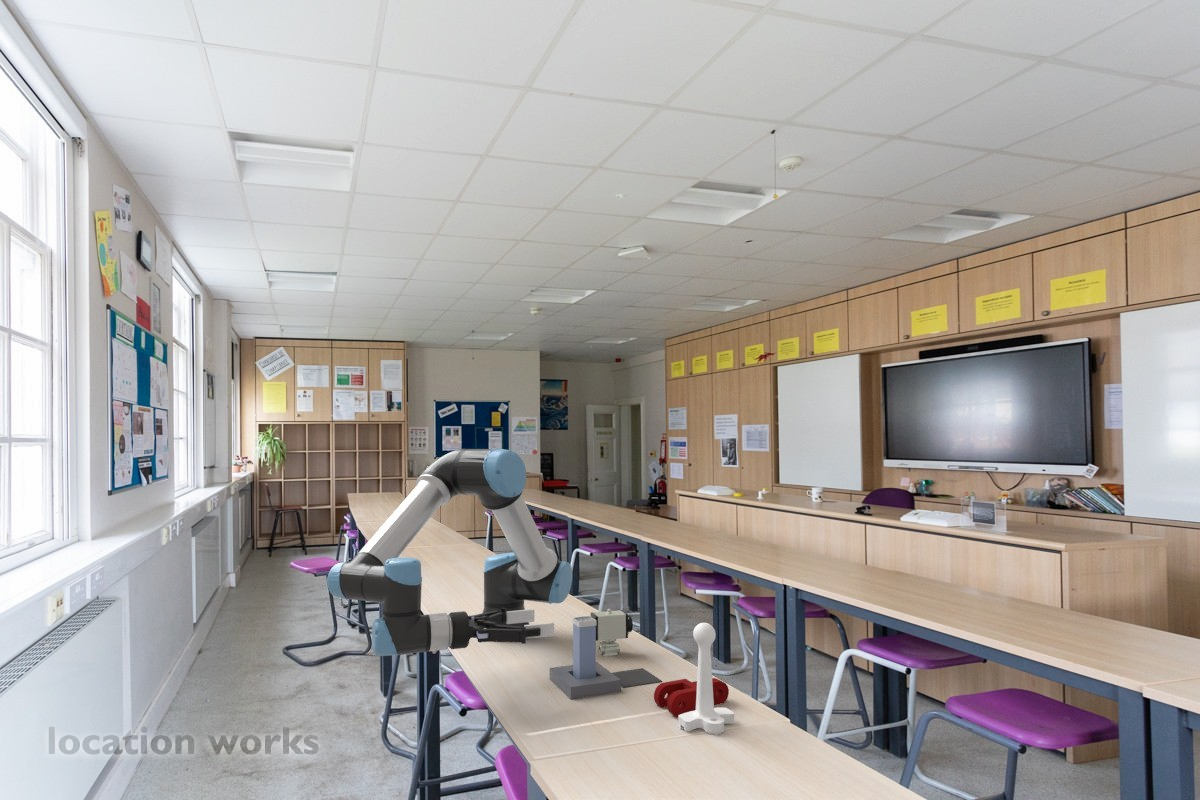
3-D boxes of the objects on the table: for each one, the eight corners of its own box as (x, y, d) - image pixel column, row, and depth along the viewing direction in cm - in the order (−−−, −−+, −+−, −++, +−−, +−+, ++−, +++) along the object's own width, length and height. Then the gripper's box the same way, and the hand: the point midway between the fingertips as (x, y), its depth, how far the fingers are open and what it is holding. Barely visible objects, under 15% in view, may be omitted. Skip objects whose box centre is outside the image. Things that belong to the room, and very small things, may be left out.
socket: (549, 681, 168) (549, 668, 168) (596, 674, 173) (596, 661, 173) (570, 701, 155) (570, 687, 155) (620, 693, 160) (620, 679, 160)
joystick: (722, 716, 147) (722, 617, 148) (743, 730, 140) (742, 626, 141) (675, 725, 142) (674, 623, 143) (694, 739, 135) (693, 632, 136)
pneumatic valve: (633, 655, 187) (633, 609, 188) (590, 660, 184) (590, 612, 184) (626, 649, 192) (626, 604, 193) (584, 653, 189) (584, 607, 190)
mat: (605, 676, 171) (605, 673, 171) (642, 670, 175) (642, 668, 175) (623, 689, 162) (623, 686, 162) (662, 683, 166) (662, 680, 166)
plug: (572, 683, 165) (572, 617, 166) (589, 681, 167) (589, 615, 167) (579, 689, 161) (579, 622, 162) (596, 686, 163) (596, 620, 164)
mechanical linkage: (671, 720, 145) (671, 695, 146) (653, 708, 152) (653, 684, 152) (735, 707, 152) (735, 683, 153) (715, 696, 159) (715, 673, 159)
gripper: (437, 634, 163) (526, 626, 172) (460, 665, 140) (562, 653, 149) (437, 601, 164) (526, 594, 172) (461, 626, 141) (562, 617, 149)
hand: (543, 621), depth 160 cm, fingers open, 13 cm apart
